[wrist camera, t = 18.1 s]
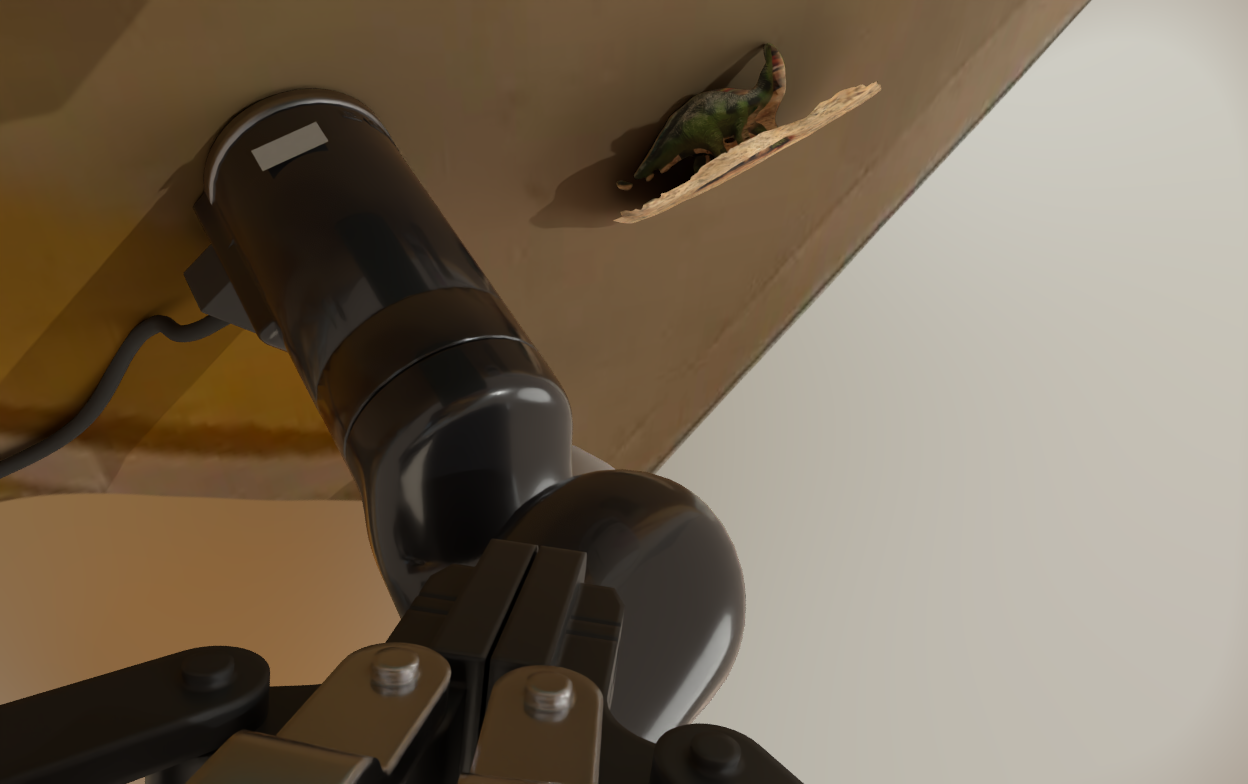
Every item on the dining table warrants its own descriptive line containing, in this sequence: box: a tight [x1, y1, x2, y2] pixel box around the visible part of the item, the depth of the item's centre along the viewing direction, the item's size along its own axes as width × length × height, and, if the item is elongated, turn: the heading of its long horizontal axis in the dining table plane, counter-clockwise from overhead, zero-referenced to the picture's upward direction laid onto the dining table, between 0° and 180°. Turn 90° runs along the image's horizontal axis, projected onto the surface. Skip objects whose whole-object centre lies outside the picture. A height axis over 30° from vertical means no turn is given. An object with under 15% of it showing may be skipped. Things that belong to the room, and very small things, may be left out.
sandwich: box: [613, 43, 882, 223], centre depth 61 cm, size 18×14×8 cm
